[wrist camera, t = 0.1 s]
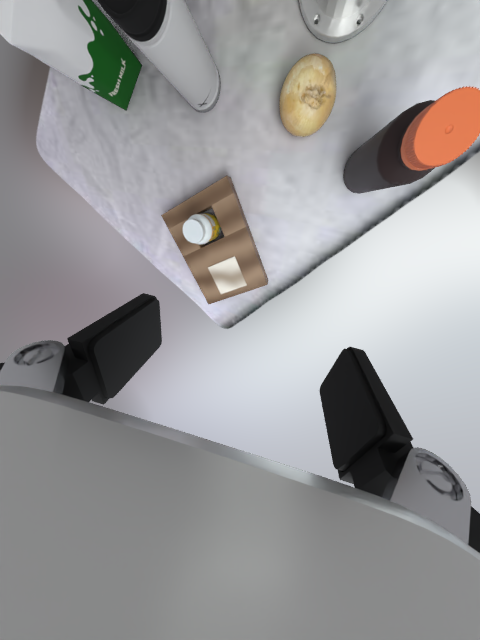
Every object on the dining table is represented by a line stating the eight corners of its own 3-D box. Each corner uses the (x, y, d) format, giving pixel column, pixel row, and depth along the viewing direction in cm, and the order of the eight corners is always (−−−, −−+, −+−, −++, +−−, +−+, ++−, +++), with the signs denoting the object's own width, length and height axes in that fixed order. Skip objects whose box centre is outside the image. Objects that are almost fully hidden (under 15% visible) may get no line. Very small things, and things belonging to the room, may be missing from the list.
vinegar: (369, 132, 30) (474, 38, 13) (397, 163, 31) (526, 112, 15) (334, 175, 34) (382, 144, 17) (360, 202, 35) (429, 197, 18)
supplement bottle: (211, 207, 40) (192, 207, 32) (226, 229, 42) (212, 234, 34) (194, 224, 43) (173, 228, 35) (209, 244, 44) (192, 252, 36)
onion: (273, 135, 33) (271, 119, 27) (289, 65, 29) (290, 27, 23) (319, 146, 32) (326, 131, 26) (341, 75, 28) (357, 40, 22)
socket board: (168, 214, 43) (160, 215, 40) (230, 177, 37) (226, 175, 34) (212, 299, 52) (208, 304, 49) (268, 280, 46) (267, 285, 43)
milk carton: (102, 9, 30) (-142, -256, 13) (149, 65, 32) (-7, -99, 15) (86, 75, 34) (-111, -56, 17) (129, 121, 36) (-10, 44, 19)
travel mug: (216, 120, 33) (146, 30, 16) (182, 104, 33) (75, -3, 16) (227, 67, 30) (153, -115, 13) (189, 49, 30) (64, -158, 13)
